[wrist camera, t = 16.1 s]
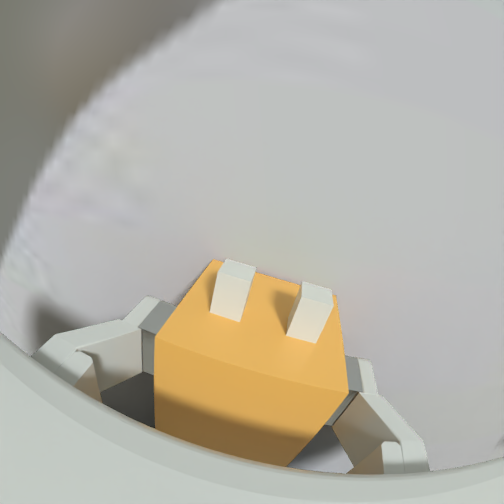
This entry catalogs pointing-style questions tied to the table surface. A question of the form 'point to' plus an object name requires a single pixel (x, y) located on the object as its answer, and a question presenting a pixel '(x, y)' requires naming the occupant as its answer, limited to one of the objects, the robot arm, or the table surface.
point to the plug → (249, 364)
